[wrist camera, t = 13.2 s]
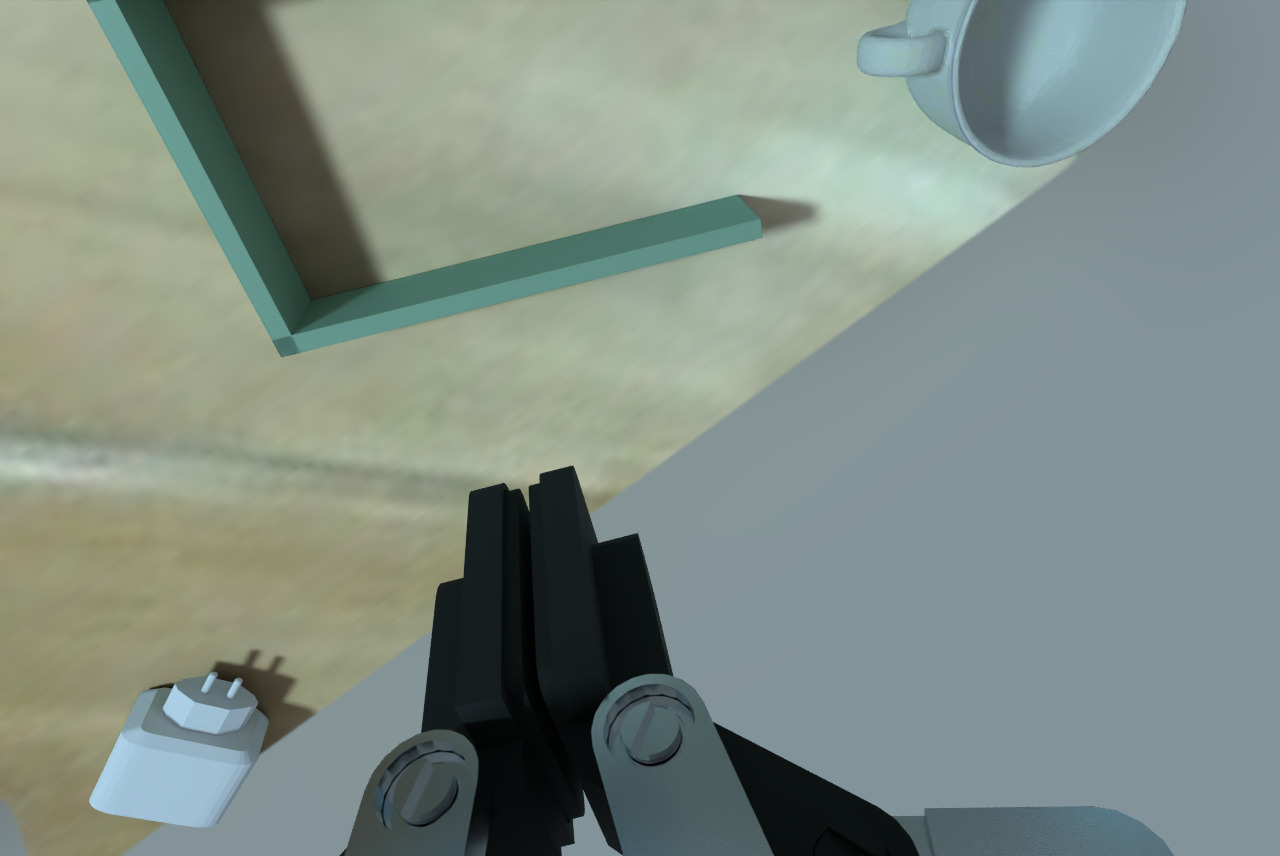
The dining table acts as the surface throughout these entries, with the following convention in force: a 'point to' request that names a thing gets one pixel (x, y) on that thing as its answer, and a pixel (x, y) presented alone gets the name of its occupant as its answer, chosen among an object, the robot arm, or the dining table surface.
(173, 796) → the charger
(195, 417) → the dining table surface
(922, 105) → the teacup
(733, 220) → the green u-shaped border
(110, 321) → the dining table surface
